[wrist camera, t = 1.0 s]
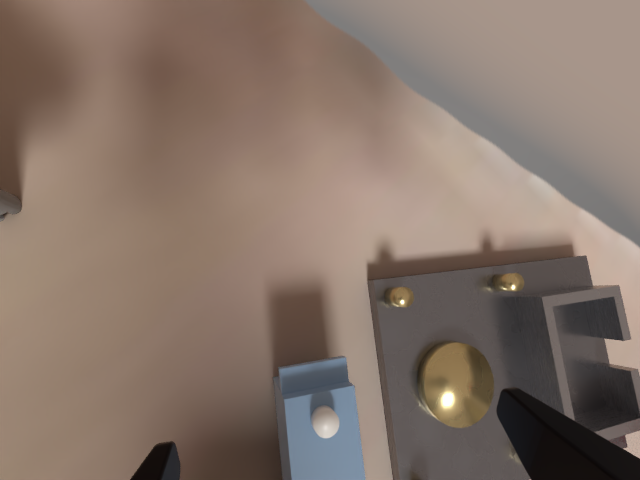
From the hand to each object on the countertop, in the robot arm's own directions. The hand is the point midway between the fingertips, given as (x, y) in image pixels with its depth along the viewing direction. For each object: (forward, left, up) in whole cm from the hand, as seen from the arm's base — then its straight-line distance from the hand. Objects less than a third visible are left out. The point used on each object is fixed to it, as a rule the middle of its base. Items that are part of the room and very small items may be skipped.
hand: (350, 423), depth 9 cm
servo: (-4, -1, -12) cm, 13 cm away
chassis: (-3, -15, -12) cm, 19 cm away
